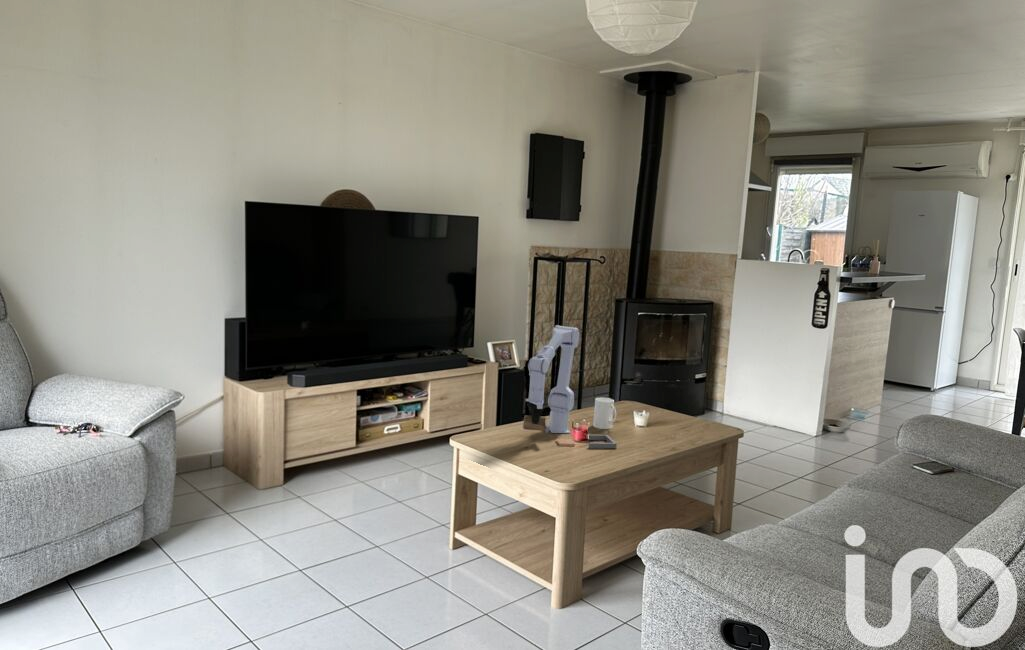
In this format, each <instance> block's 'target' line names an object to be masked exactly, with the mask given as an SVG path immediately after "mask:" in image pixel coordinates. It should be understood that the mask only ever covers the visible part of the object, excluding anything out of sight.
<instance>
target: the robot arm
mask: <svg viewBox="0 0 1025 650" xmlns="http://www.w3.org/2000/svg"><path fill="white" fill-rule="evenodd" d="M551 335H552V337H551V338H550V341H548V344H547V345H543V346H542V348H540V350H539V352H538V353H537V354H536V355H535V356H532V357H531V358H530V359H529V361H528V363H527V368H528V372H529V373H528V375H529V391H528V398H525V402H526V405H527V408H528V410H529V411H528V412H529V415H530V416H532V423H533V424H538V423H539V419H540V416H542V414H543V412H544V410H545V406H543V405H544V402H545V399H544V397H545V384H546V383H545V382H546V373H547V372H548V370H549V369H550V368H549V367H550V364H551V361H552V360H553V358H554V357H555V356H556V350H557V349H558V348H559V347H561V355H560V361H559V367H558V368H559V369H558V375H557V382H556V386H555V387H553V388H552V389H550V392H549V395H548V398H547V404H548V407H549V408H550V409H549V410H550V412H549V422H548V426H549V431H550V432H551V434H571V431H570V430H569V429H568V427H569V419H570V417H569V415H570V411H571V410H573V408H574V406H575V393H574V391H573V390H572V389H571V388H570V381H571V373H572V366H573V361H574V360H573V359H574V354H575V353H574V352H575V349H577V348H579V347H578V346H579V340H580V330H579V329H578V327H571V326H565V325H559V324H556V325H555V326H554V327H553V328H552V334H551Z"/></svg>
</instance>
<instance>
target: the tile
mask: <svg viewBox="0 0 1025 650" xmlns="http://www.w3.org/2000/svg"><path fill="white" fill-rule="evenodd" d="M555 442H556V444H558V445H559V447H575V444H576V443H575V442H574V440H573V439H572V438H556V439H555Z"/></svg>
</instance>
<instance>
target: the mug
mask: <svg viewBox="0 0 1025 650" xmlns="http://www.w3.org/2000/svg"><path fill="white" fill-rule="evenodd" d="M614 403H615V400H614V399H612V398H610V397H596V398H595V400H594V411H593V422H592V427H594V428H596V429H600V430H611V429H613V423H614V422H615V421H616V419H617V410H616V407H615V406H614V405H615V404H614ZM613 416H614V418H613Z"/></svg>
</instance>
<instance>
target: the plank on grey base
mask: <svg viewBox="0 0 1025 650" xmlns="http://www.w3.org/2000/svg"><path fill="white" fill-rule="evenodd" d="M546 418H547V417H545V416H542V415H541V416H540V419H539V423H538V424H533V423H532V416H530V414H529V415H527V414H525V415H524V417H523V426H522V428H523V430H527V431H528V430H531V431H544V433H545V434H547V433H549V431H550V430H549V424H548V423H547V422H546V420H547V419H546Z"/></svg>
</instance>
